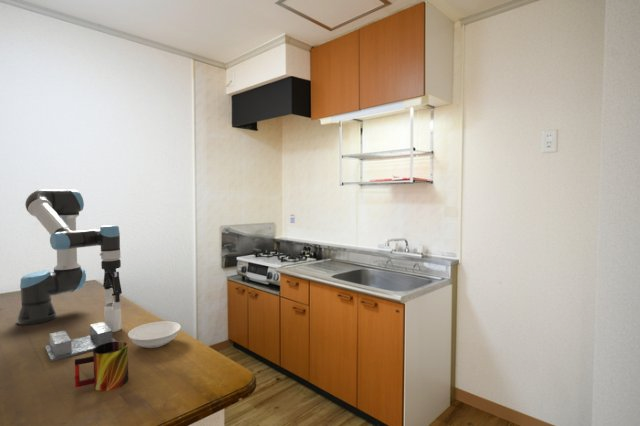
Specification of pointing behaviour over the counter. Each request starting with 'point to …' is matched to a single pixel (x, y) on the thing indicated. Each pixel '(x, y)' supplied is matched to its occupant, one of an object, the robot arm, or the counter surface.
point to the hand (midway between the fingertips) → (112, 306)
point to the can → (112, 317)
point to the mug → (106, 366)
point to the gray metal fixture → (78, 342)
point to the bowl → (154, 334)
